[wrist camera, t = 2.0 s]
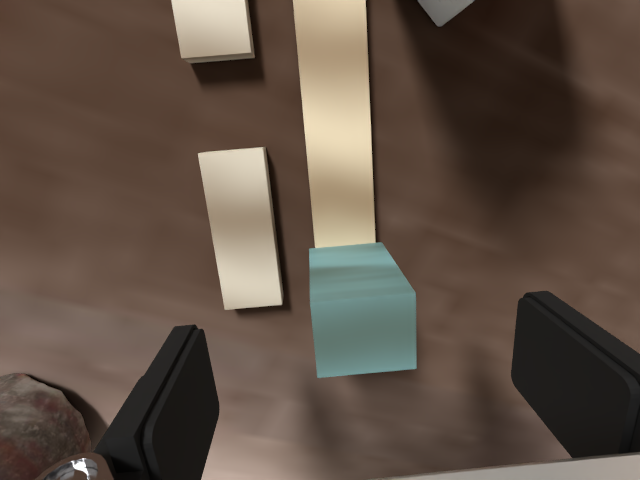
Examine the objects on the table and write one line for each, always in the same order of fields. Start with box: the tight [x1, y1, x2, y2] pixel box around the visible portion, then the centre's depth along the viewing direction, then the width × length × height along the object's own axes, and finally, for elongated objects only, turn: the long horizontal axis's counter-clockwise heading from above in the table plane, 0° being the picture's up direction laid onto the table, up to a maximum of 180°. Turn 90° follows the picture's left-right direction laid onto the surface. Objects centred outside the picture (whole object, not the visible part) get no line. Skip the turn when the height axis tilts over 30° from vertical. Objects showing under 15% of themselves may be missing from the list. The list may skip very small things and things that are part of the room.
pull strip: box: [293, 0, 416, 378], centre depth 14 cm, size 22×11×7 cm, turn 5°
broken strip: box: [172, 0, 283, 310], centre depth 17 cm, size 22×3×1 cm, turn 5°
